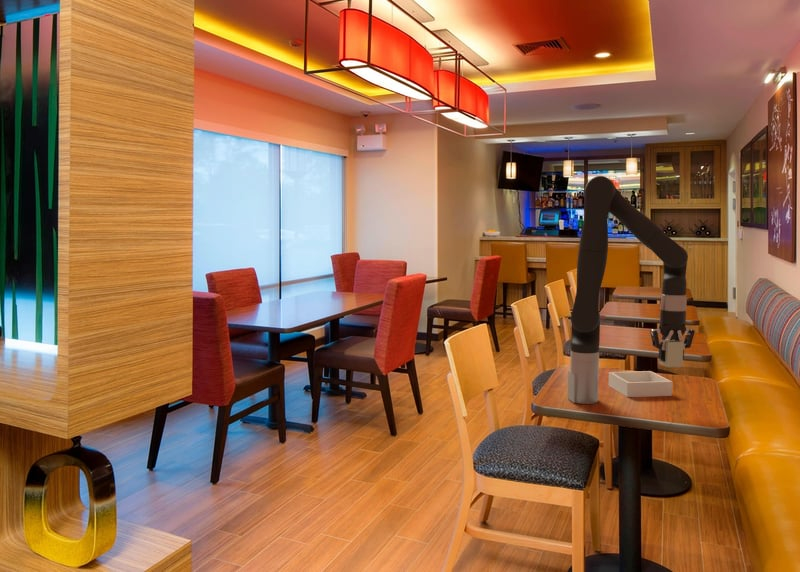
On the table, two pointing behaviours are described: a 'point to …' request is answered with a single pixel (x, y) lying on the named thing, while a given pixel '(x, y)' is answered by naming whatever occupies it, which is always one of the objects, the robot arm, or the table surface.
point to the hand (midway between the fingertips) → (671, 360)
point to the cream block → (673, 354)
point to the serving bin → (640, 384)
